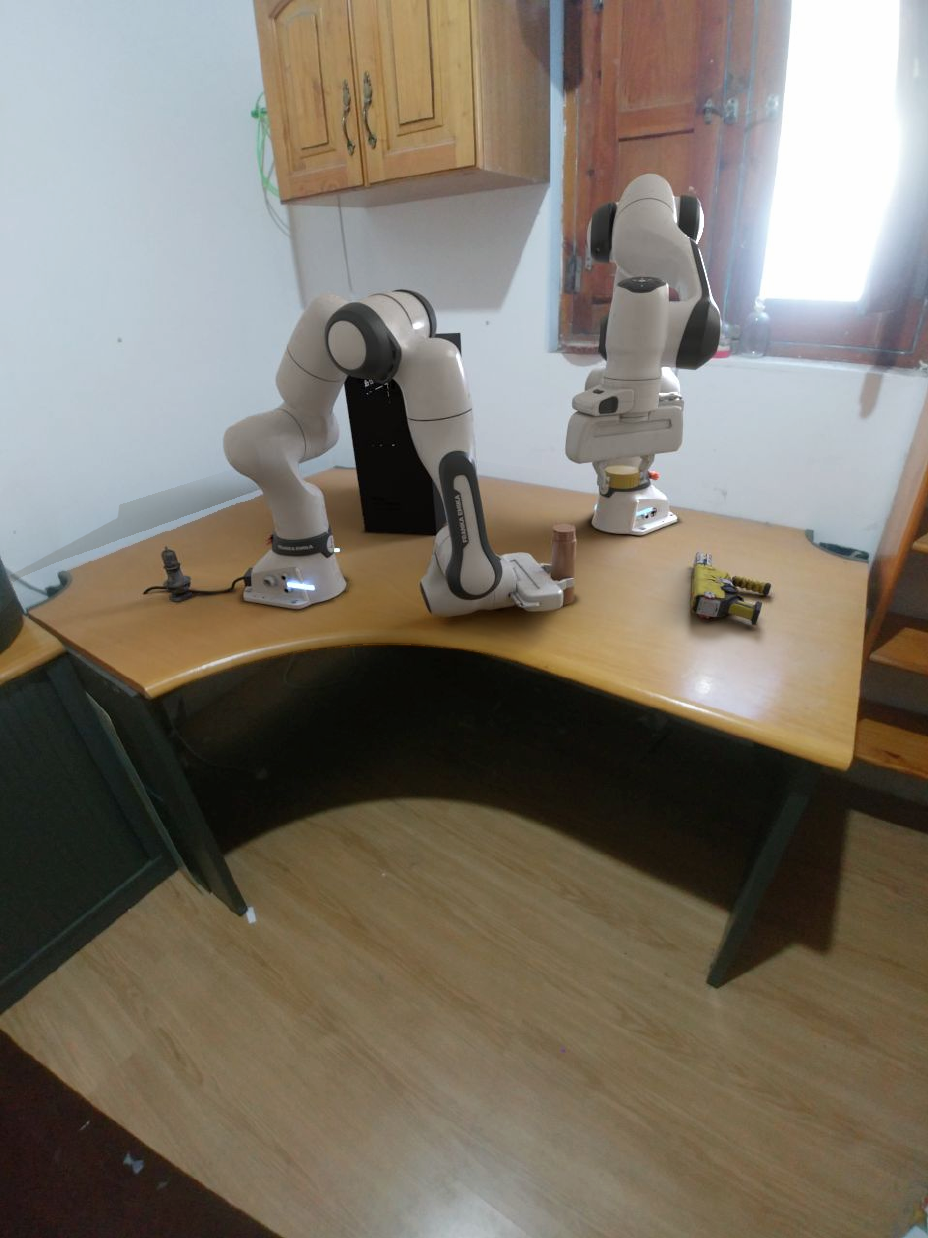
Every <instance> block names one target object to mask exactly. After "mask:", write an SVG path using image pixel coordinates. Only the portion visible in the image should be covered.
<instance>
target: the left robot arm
mask: <svg viewBox="0 0 928 1238" xmlns="http://www.w3.org/2000/svg"><path fill="white" fill-rule="evenodd" d="M437 324H438V322H437V316H436V312H435V310H434V307H433V305H432V304H431V303H430V301H429V300H428V299H427V298H426V297H425V296H424V295H422V294H421V293H419V292H417V291H414V290H410V289H402V288H401V289H394V290H391V291H384V292H378V293H373V294H370V295H368V296H366V297H364V298H361V299H358V300H357V301H353V302H350V301H348V300H346V299H345V297H342V296H341V295H337V294H334V293H321V294H318V295H316V296H315V297H313V298H312V299H311V300H310V302H309V303H308V304H307V306H306V307H305V308H304V310H303V312H302V313H301V315H300V317H299V319H298V320H297V322H296V323H295V326H294V328H293V330H292V332H291V334H290V336H289V339H288V341H287V344H286V347H285V349H284V352H283V355H282V358H281V360H280V362H279V365H278V368H277V371H276V374H275V377H274V379H275V386H276V389H277V391H278V394H279V396H280V397H281V399H282V400H283V402H282V403H281V404H280V405H279V406H278V407H276V408H274V409H270V410H267V411H263V412H258V413H256V414H252V415H247V416H245V417H244V418H242V419H240V420H238V421H236V422H234V423H233V424H232V425H230V426H228V427H227V428H226V430H225V431H224V434H223V438H222V449H223V453H224V456H225V459H226V460H227V462H228V463H229V465H230V466H231V467H232V468H233V470H235V471H236V472H237V473H238V474H240V475H242V476H244V477H246V478H248V479H250V480H251V481H252V482H253V483H255V484H256V485H257V487H258V488H259V489H260V491H261V492H262V493H263V495H264V497H265V499H266V502H267V505H268V509H269V511H270V515H271V519H272V523H273V526H274V531H273V532H272V533H270V534H269V537H268V538H266V540H265V542H266V546H268V545H270V544H271V548H270V549H269V550H268V551H267V552H266V553H265V554H264V555H263V556H262V557H261V558H260V559H259V560H258V561H257V562H256V563H255V564H254V565H253V567H248V569H247V570H246V572H245V573H244V574H243V576H240V577H237V578H235V579H234V580H233V581H232V582H231V586H230V587H228V588H227V589H224V590H217V591H216V590H215V591H214V590H196V589H195V590H194V589H189V590H187V591H189V592H192V593H194V595H196V594H197V595H219V594H225V593H231V592H232V591H234V590H235V586H236V584H237V583H238V582H240V581H243V584H244V587H245V589H244V591H243V593H242V595H243V596H242V597H243V601H245V602H250V603H256V604H262V605H267V606H268V605H269V606H274V607H279V608H280V607H281V608H286V609H293V610H301V609H304V608H306V607H309V606H311V605H313V604H318V603H321V602H325V601H328V600H331V599H333V598H336V597H337V596H339V595H340V594H341V593H343V592H344V590H346V588H347V582H346V579H345V578H344V576H343V574H342V571H341V569H340V566H339V564H338V561H337V557H336V553H339V552H340V548H335V540H334V536H333V530H332V527H331V525H330V524H329V519H328V513H327V509H326V501H325V497H324V494H323V492H322V490H321V489H320V488H319V486H316V485H315V484H313V483H311V482H308V481H305V480H304V478H303V476H302V474H301V471H300V466H299V464H302V463H305V462H309V461H311V460H313V459H317V458H320V457H321V456H323V455H324V454H326V453H327V452H328V451H330V450H331V449H332V448H334V447H335V446H336V445H337V444H338V442H339V438H340V424H339V421H338V418H337V416H336V414H335V413H334V412H333V410H334V407H335V404H336V401H337V400H338V398H339V395H340V393H341V391H342V389H343V386H344V382H345V380H346V378H347V376H348V375H349V376H352V377H356V378H361V379H368V380H371V381H375V382H377V383H381V384H385V385H386V383H388V382H389V381H390V380H391V379H394V380H395V381H396V382H397V383H398V384H399V386H400V388H401V390H402V393H403V397H404V402H405V408H406V414H407V420H408V425H409V430H410V433H411V437H412V440H413V443H414V446H415V448H416V451H417V453H418V456H419V458H420V460H421V461H422V463H423V464H424V466H425V468H426V469H427V471H428V472H429V474H430V476H431V477H432V479H433V481H434V483H435V484H436V486H437V488H438V491H439V493H440V495H441V498H442V501H443V505H444V509H445V514H446V525H443V526H442V527H441V529H440V530H439V532H438V533H437V534H435V536H434V538H433V542H432V543H433V547H432V552H431V558H430V561H429V565H428V566H427V570H426V572H425V574H424V575H423V576H422V577H421V579H420V581H419V591H420V593H421V597H422V599H423V602H424V605H425V607H426V609H427V611H428V613H429V614H431V615H432V616H434V617H439V618H442V617H443V618H447V617H456V616H463V615H470V614H472V613H475V612H476V611H482V610H485V611H492V610H498V609H503V608H510V607H514V606H516V607H517V608H521V609H524V610H525V611H527V612H546V611H555V610H559V609H561V608H562V607H563V606H564V605H563V590H564V589H566V588H570V587H573V586H574V587H575V583H574V579H573V578H572V577H571V576H568V577H563V580H561V581H559V582H558V580H556V581H553V580H552V579H551V563H546V562H545V563H544V562H541V563H538V562H537V561H536V559H534V557H533V556H532V555H531V554H530V553H528V552H521V551H520V552H512V553H504V554H501V555H499V554H496V552H494V550H493V549H492V547H491V544H490V542H489V538H488V537H489V536H488V533H487V527H486V521H485V514H484V508H483V502H482V497H481V496H482V495H481V491H480V484H479V478H478V463H477V462H478V461H477V451H476V432H475V431H476V430H475V419H474V408H473V402H472V394H471V388H470V385H469V380H468V375H467V371H466V368H465V364H464V361H463V357H462V358H461V355H460V352H459V350H458V348H457V347H456V346H455V345H454V344H453V343H451V342H450V341H447V340H445V339H441V338H434V337H435V334H437V328H438V327H437V326H438V325H437ZM386 377H387V378H386ZM385 378H386V379H385ZM154 590H166V591H168V590H167V589H166V588H165V587H164V586H163V585H159V586H158V585H154V586H153V585H152V586H150V587H148V588H146V589H145V590H144V591H143V593H142V595H147V594H148V593H149V592H150V591H154Z"/></svg>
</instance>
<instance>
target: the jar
mask: <svg viewBox="0 0 928 1238" xmlns="http://www.w3.org/2000/svg"><path fill="white" fill-rule="evenodd" d="M576 532H577V529H576V527H575V526H574V525H572V524H568V523H562V524H557V525H555V526H553V527H552V536H551V541H550V542H551V543H550V549H551V550H550V564H551V574H550V577H551V579H552V580H553V581H556V580H558V582H559V581H561V580H563V577H568V576H571V577H572V578H573V579H574V584H575V581H576V580H575V579H576V563H577V562H576V561H577V560H576V559H577V542H578V541H577V539H578V538H577V536H576ZM574 600H575V585H574V586H573V587H570V588H566V589H564V590H563V605H562V606H566V605H570V604H572V603H574Z"/></svg>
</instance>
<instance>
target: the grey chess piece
mask: <svg viewBox="0 0 928 1238" xmlns="http://www.w3.org/2000/svg"><path fill="white" fill-rule="evenodd" d="M160 556H161V559H162V562H163V567H162V568H163V570H165V572H166V575H167V579H166V580H165V581H164V582H163V583H162V586H164V587H165V588H166V589H167V590H166V591H167V592H168V593H170V595H169V596H168V599H169V601H172V602H180V601H185V600H187V599H190V598H192V597H193V596H194V595H195V594H194V593H192V592H189V591H187V590H190V588H191V585H192V582H191V581H192V577H191V576H189V575H184V573H183V571H182V569H181V566H182V563H181V562H179V559H178V557H177V554H176V551H175V550H173V549H169V547H168V546H165V547H164V550H163V551H162V552H161V553H160Z"/></svg>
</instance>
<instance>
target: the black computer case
mask: <svg viewBox="0 0 928 1238" xmlns="http://www.w3.org/2000/svg"><path fill="white" fill-rule="evenodd" d="M434 338H441V339H445V340H447V341H450V342H451V343H453V344H454V345H455V346H456V347H457V348H458V350H459V352H460V355H461V358H462V359H463V357H462V356H463V355H462V354H463V353H462V336H461V332H447V333H446V332H442V333H441V332H440V333H436V334H435V337H434ZM386 378H387V377H386ZM386 378H385V379H386ZM343 386H344V387H343V388H344V394H345V395H344V396H345V400H346V408H347V409H346V410H347V415H348V421H349V430H350V436H351V437H350V438H351V444H352V450H353V458H354V463H355V464H354V465H355V470H356V471H355V472H356V477H357V485H358V492H359V498H360V499H359V500H360V506H361V514H362V520H363V528H364V532H367V533H368V532H370V533H393V534H394V533H395V534H416V535H417V534H419V535H436V534H437V533H438V532H439V530H440V529H441V528H443V527H444V526H445V523H447V520H446V514H445V509H444V505H443V501H442V498H441V495H440V493H439V491H438V488H437V486H436V484H435V483H434V481H433V479H432V477H431V476H430V474H429V472H428V471H427V469H426V468H425V466H424V464H423V463H422V461H421V460H420V458H419V456H418V453H417V451H416V448H415V446H414V443H413V440H412V437H411V433H410V430H409V425H408V420H407V414H406V408H405V402H404V397H403V393H402V390H401V388H400V386H399V384H398V383H397V382H396V381H395V380H394V379H391V380H390V381H389V382H388V383H386V384H381V383H377V382H375V381H372V380H368V379H361V378H356V377H352V376H349V375H348V376H347V378H346V380H345V382H344V384H343Z"/></svg>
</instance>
